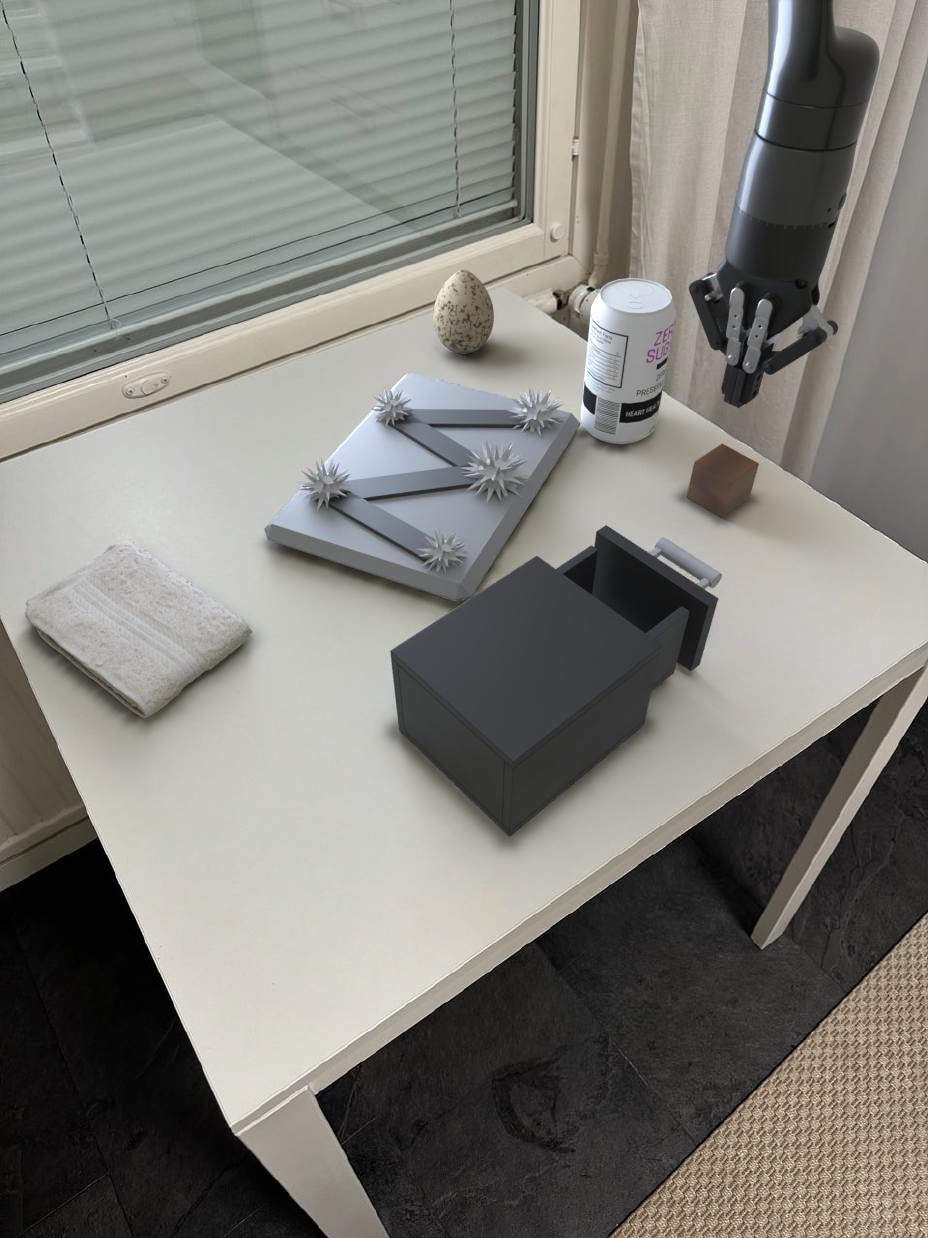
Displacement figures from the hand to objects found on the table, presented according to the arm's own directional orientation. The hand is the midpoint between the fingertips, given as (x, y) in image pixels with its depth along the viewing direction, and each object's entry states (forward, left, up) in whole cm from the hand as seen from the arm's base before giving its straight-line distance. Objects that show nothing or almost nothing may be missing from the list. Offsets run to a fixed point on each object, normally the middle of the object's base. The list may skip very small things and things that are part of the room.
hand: (737, 401), depth 78 cm
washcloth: (+23, +49, -13) cm, 56 cm away
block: (+1, -2, -13) cm, 13 cm away
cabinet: (-6, +32, -13) cm, 35 cm away
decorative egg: (+39, -2, -13) cm, 41 cm away
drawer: (-6, +21, -12) cm, 25 cm away
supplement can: (+16, -4, -13) cm, 21 cm away
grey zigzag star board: (+22, +17, -13) cm, 31 cm away
